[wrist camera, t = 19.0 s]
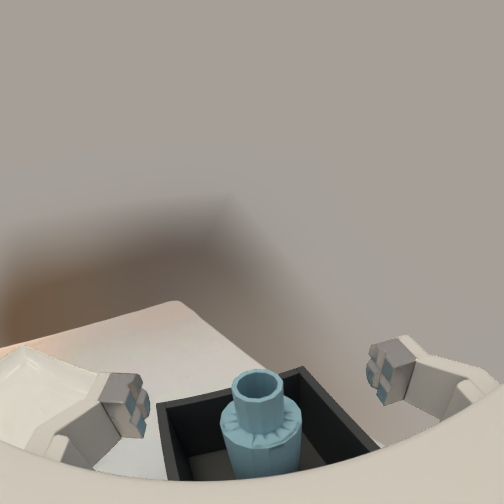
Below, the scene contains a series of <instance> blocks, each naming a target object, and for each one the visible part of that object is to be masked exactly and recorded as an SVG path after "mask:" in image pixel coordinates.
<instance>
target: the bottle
mask: <svg viewBox="0 0 504 504" xmlns="http://www.w3.org/2000/svg"><path fill="white" fill-rule="evenodd" d="M231 389H232V395H233V401H232V402H230V403H229V404H228V405H227V407H226V408H225V409H224V410H223V412H222V414H221V420H220V426H221V430H222V434H223V437H224V441H225V444H226V448H227V451H228V454H229V458H230V461H231V464H232V468H233V471H234V474H235V477H236V480H242V479H252V478H261V477H269V476H276V475H282V474H288V473H294V472H299V461H300V446H301V430H302V417H301V410H300V409H299V407H298V406H297V405H296V403H295V402H294V401H293V400H291V399H290V398H288V397H286V396H284V395H283V381H282V379H281V378H280V377H279V375H278V374H276V373H274V372H272V371H269V370H262V369H254V370H250V371H247V372H243V373H242V374H240V375H239V376H238V377H236V378H235V379H234V381H233V384H232V387H231Z"/></svg>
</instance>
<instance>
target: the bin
mask: <svg viewBox="0 0 504 504" xmlns="http://www.w3.org/2000/svg"><path fill="white" fill-rule="evenodd" d="M278 375H279V377H280V378H281V379H282V381H283V395H284V396H286V397H288V398H290V399H291V400H293V401H294V402H295V403H296V405H297V406H298V407H299V409H300V410H301V417H302V430H301V446H300V461H299V471H304V470H309V469H313V468H318V467H322V466H326V465H330V464H334V463H338V462H341V461H345V460H348V459H351V458H355V457H358V456H361V455H364V454H367V453H370V452H373V451H376V450H378V449H381V448H380V447H379V446H378V445H377V444H376V443H375V442H374V441H373V440H372V439H371V438H370V437H369V436H368V435H367V434H366V433H365V432H364V431H363V430H362V429H361V428H360V427H359V426H358V425H357V424H356V422H355V421H354V420H353V419H352V418H351V417H350V416H349V415H348V414H347V413H346V412H345V411H344V410H343V409H342V408H341V407H340V406H339V404H338V403H337V402H336V401H335V400H334V399H333V398H332V397H331V396H330V395H329V394H328V393H327V392H326V390H325V389H324V388H323V387H322V386H321V385H320V384H319V383H318V382H317V381H316V380H315V378H314V377H313V376H312V375H311V374H310V373H309V372H308V371H307V370H306V368H305V367H304V366H301V367H298V368H296V369H292V370H289V371H286V372H283V373H280V374H278ZM232 401H233V395H232V389H231V388H228V389H224V390H220V391H216V392H211V393H207V394H203V395H198V396H193V397H189V398H184V399H179V400H173V401H168V402H162V403H156V408H157V416H158V424H159V431H160V438H161V444H162V450H163V456H164V462H165V467H166V472H167V477H168V481H227V480H236V477H235V474H234V471H233V468H232V464H231V461H230V458H229V454H228V451H227V448H226V444H225V441H224V437H223V434H222V430H221V426H220V420H221V414H222V412H223V410H224V409H225V408H226V407H227V405H228V404H229V403H230V402H232Z"/></svg>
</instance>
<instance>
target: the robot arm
mask: <svg viewBox="0 0 504 504" xmlns="http://www.w3.org/2000/svg"><path fill="white" fill-rule="evenodd" d="M369 355H370V357H371V359H370V361H369V362H368V363H367V368H366V375H367V379H368V382H369V384H370V385H371V387H373V388H375V389H377V396H378V398H379V399H380V400H381V402H382V403H383V405H384V406H386V405H389V404H392V403H395V402H398V401H401V400H404V401H406V402H408V403H410V404H411V405H413V406H415V407H417V408H419V409H421V410H423V411H425V412H427V413H429V414H431V415H432V416H434V417H436V418H438V419H440V422H439V423H438V424H436V425H434V426H432V427H430V428H428V429H426V430H424V431H422V432H420V433H417V434H415V435H413V436H411V437H408V438H406V439H404V440H401V441H399V442H396V443H394V444H392V445H389V446H386V447H384V448H381V449H378V450H376V451H373V452H370V453H367V454H364V455H361V456H358V457H355V458H351V459H348V460H345V461H341V462H338V463H334V464H330V465H326V466H322V467H318V468H313V469H309V470H304V471H299V472H294V473H288V474H282V475H276V476H269V477H261V478H252V479H242V480H227V481H168V480H154V479H144V478H135V477H127V476H121V475H114V474H109V473H103V472H98V471H95V470H94V469H93V468H92V467H93V466H94V465H95V464H96V463H97V462H98V461H99V460H100V459H101V458H102V457H103V456H104V455H106V454H107V453H108V452H109V451H110V450H111V449H112V448H113V447H114V446H115V445H116V443H117V442H118V441H119V440H120V439H121V437H126V438H143V437H144V433H145V429H146V423H145V421H144V419H146V418H147V417H148V416H149V412H150V401H149V396H148V394H147V392H146V391H145V390H144V389H143V388H141V387H142V384H143V381H142V379H141V377H140V375H138V374H130V373H106V372H101V373H99V374H98V375H97V377H96V379H95V381H94V383H93V385H92V386H91V388H90V390H89V392H88V394H87V396H86V398H85V400H80V401H78V402H77V403H75V404H74V405H72V406H70V407H69V408H67V409H66V410H64V411H62V412H61V413H59V414H57V415H56V416H54V417H53V418H51V419H49V420H48V421H46V422H44V423H43V424H41V425H39V426H38V427H36V429H35V430H34V432H33V434H32V436H31V438H30V439H29V441H28V443H27V445H26V447H25V449H24V450H23V449H21V448H18V447H16V446H13V445H11V444H9V443H6V442H4V441H2V440H0V504H504V383H502V384H501V385H500V384H499V383H498V382H497V381H496V380H495V379H494V378H493V377H492V376H491V375H489V374H488V373H487V372H486V371H485V370H484V369H482V368H478V367H474V366H471V365H467V364H463V363H460V362H456V361H453V360H449V359H445V358H442V357H439V356H435V355H432V356H430V355H428V354H427V353H426V352H425V351H424V350H423V349H422V348H421V347H420V346H419V345H418V344H417V343H416V342H415V341H414V340H413V339H412V338H410V336H408V335H403V336H400V337H397V338H394V339H392V340H388V341H384V342H381V343H377V344H373V345H371V347H370V349H369Z"/></svg>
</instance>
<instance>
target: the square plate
mask: <svg viewBox="0 0 504 504" xmlns="http://www.w3.org/2000/svg"><path fill="white" fill-rule="evenodd" d="M97 375H98V374H97V373H94V372H91V371H88V370H85V369H82V368H80V367H77V366H74V365H72V364H69V363H66V362H64V361H61V360H59V359H56V358H54V357H52V356H49V355H47V354H45V353H42V352H40V351H38V350H35V349H33V348H31V347H29V346H26V345H21V346H19V347H18V348H16V349H15V350H13V351H12V352H10V353H9V354H7V355H6V356H5V357H3V358H2V359H0V440H2V441H4V442H6V443H9V444H11V445H13V446H16V447H18V448H21V449H23V450H24V449H25V447H26V445H27V443H28V441H29V439H30V438H31V436H32V434H33V432H34V430H35V429H36V427H38V426H39V425H41V424H43V423H44V422H46V421H48V420H49V419H51V418H53V417H54V416H56V415H57V414H59V413H61V412H62V411H64V410H66V409H67V408H69V407H70V406H72V405H74V404H75V403H77V402H78V401H80V400H85V398H86V396H87V394H88V392H89V390H90V388H91V386H92V385H93V383H94V381H95V379H96V377H97Z"/></svg>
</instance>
